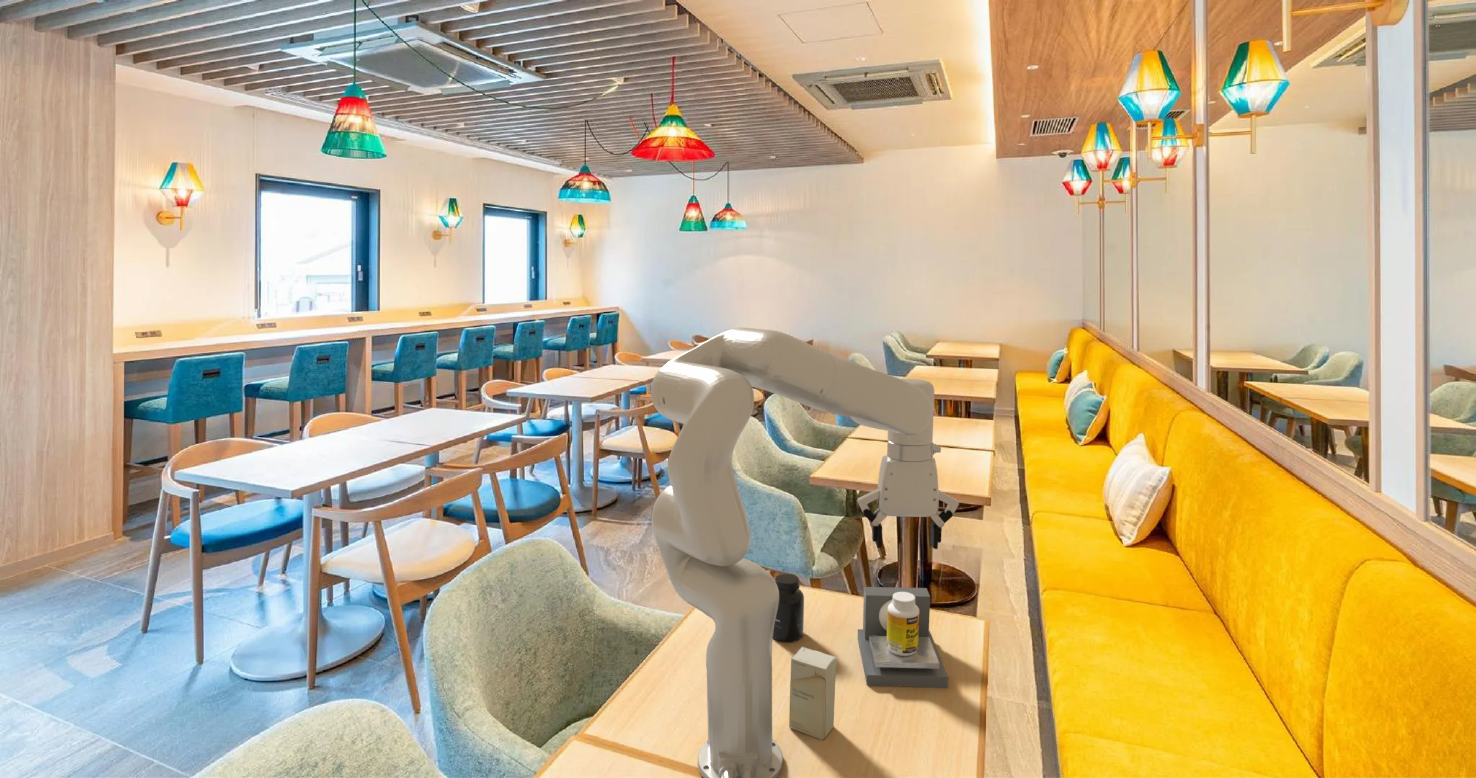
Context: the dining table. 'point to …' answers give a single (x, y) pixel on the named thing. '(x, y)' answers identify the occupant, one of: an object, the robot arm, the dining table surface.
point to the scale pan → (920, 659)
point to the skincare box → (812, 692)
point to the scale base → (877, 626)
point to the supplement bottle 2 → (902, 624)
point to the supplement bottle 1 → (789, 609)
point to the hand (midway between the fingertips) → (906, 545)
